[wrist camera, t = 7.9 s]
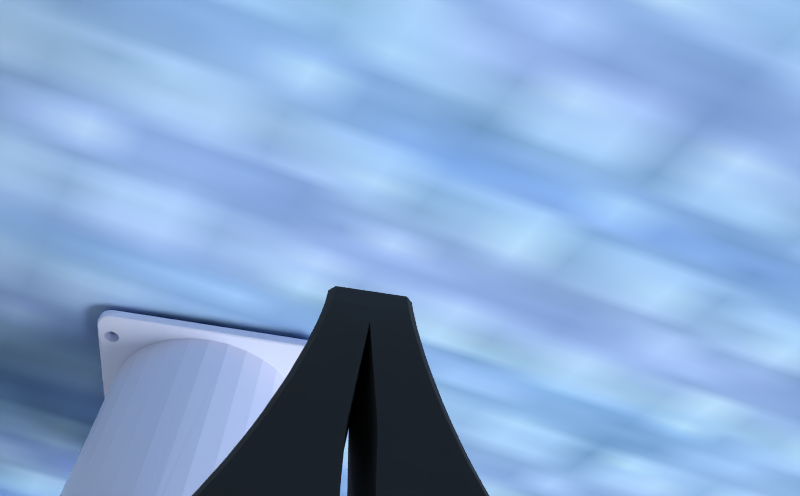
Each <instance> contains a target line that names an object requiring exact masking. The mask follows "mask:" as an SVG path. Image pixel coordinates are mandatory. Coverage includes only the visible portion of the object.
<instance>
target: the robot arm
mask: <svg viewBox="0 0 800 496" xmlns="http://www.w3.org/2000/svg"><path fill="white" fill-rule="evenodd" d="M97 328H98V338H99V348H100V358H101V368H102V378H103V389H104V399H105V400H104V402H103V404H102V406H101V408H100V410H99V412H98V415H97V417H96V419H95V421H94V423H93V425H92V428H91V430H90V432H89V434H88V436H87V438H86V441H85V443H84V445H83V447H82V449H81V451H80V454H79V456H78V458H77V460H76V462H75V464H74V467H73V469H72V471H71V473H70V475H69V477H68V480H67V482H66V484H65V486H64V488H63V490H62V493H61V495H60V496H340V484H341V474H342V463H343V453H344V447H345V443H346V438H347V433H348V429H349V441H348V491H347V496H489V495H488V493H487V491H486V489H485V488H484V486H483V484H482V482H481V480H480V479H479V477H478V475H477V473H476V471H475V470H474V468H473V466H472V464H471V462H470V460H469V458H468V456H467V454H466V452H465V450H464V448H463V446H462V444H461V442H460V440H459V438H458V435H457V433H456V431H455V429H454V427H453V425H452V423H451V420H450V418H449V416H448V413H447V411H446V409H445V406H444V404H443V402H442V399H441V397H440V394H439V391H438V389H437V386H436V384H435V381H434V379H433V376H432V373H431V371H430V368H429V365H428V362H427V359H426V356H425V353H424V350H423V347H422V343H421V340H420V337H419V333H418V330H417V326H416V322H415V317H414V313H413V307H412V302H411V301H410V300H409V299H408V298H407V297H405V296H399V295H392V294H385V293H379V292H372V291H365V290H358V289H352V288H345V287H338V286H335V287H334V288H332V289H330V290H328V294H327V298H326V301H325V304H324V307H323V309H322V312H321V314H320V317H319V319H318V321H317V323H316V325H315V327H314V329H313V331H312V333H311V335H310V337H309V339H308V340H304V339H297V338H291V337H284V336H278V335H271V334H265V333H258V332H252V331H245V330H239V329H232V328H226V327H219V326H213V325H206V324H200V323H193V322H187V321H180V320H174V319H167V318H161V317H154V316H148V315H141V314H135V313H128V312H122V311H115V310H107V311H104V312H103V313H102V314H101V315H100V317H99V319H98V322H97ZM111 332H114V333H116V334H113V333H111Z"/></svg>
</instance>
